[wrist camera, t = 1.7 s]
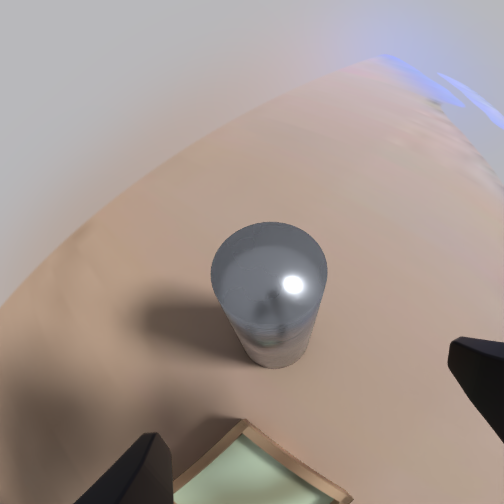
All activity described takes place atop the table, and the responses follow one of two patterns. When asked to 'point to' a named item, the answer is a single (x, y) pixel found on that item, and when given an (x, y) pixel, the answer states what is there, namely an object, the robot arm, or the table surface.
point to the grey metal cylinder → (270, 289)
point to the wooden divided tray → (253, 474)
